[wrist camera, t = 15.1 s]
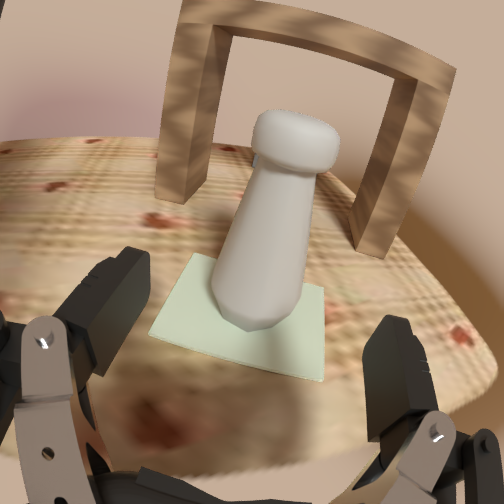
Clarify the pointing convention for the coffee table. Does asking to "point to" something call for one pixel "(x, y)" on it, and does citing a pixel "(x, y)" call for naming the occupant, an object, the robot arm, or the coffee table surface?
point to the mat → (235, 339)
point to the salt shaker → (273, 221)
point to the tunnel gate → (319, 40)
